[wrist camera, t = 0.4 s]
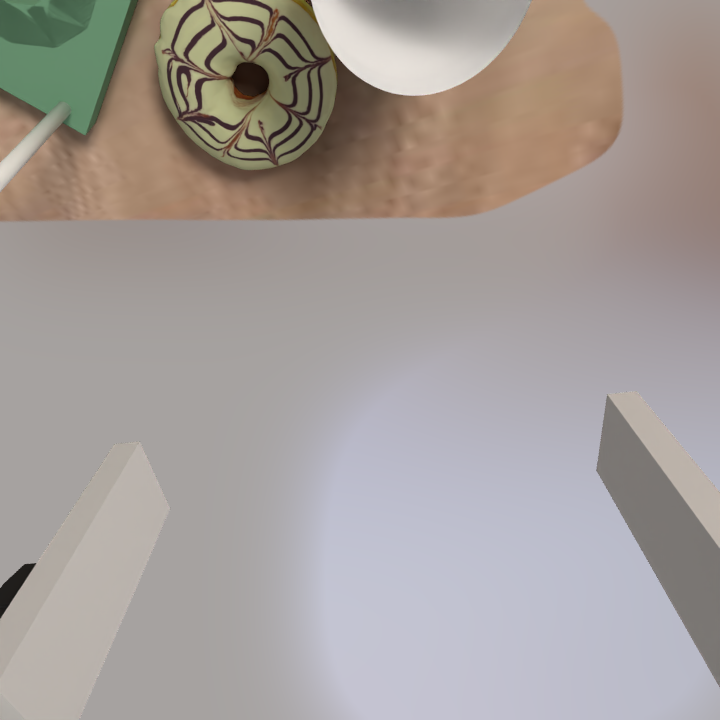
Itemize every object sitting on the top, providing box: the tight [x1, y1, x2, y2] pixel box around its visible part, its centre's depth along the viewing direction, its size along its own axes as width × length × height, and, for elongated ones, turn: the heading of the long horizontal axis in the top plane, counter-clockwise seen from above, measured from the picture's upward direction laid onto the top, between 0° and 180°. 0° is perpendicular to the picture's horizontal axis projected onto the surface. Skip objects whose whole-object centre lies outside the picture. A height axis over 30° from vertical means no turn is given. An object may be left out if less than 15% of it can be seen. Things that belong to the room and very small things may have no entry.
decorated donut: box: [154, 0, 337, 170], centre depth 31 cm, size 10×11×4 cm
